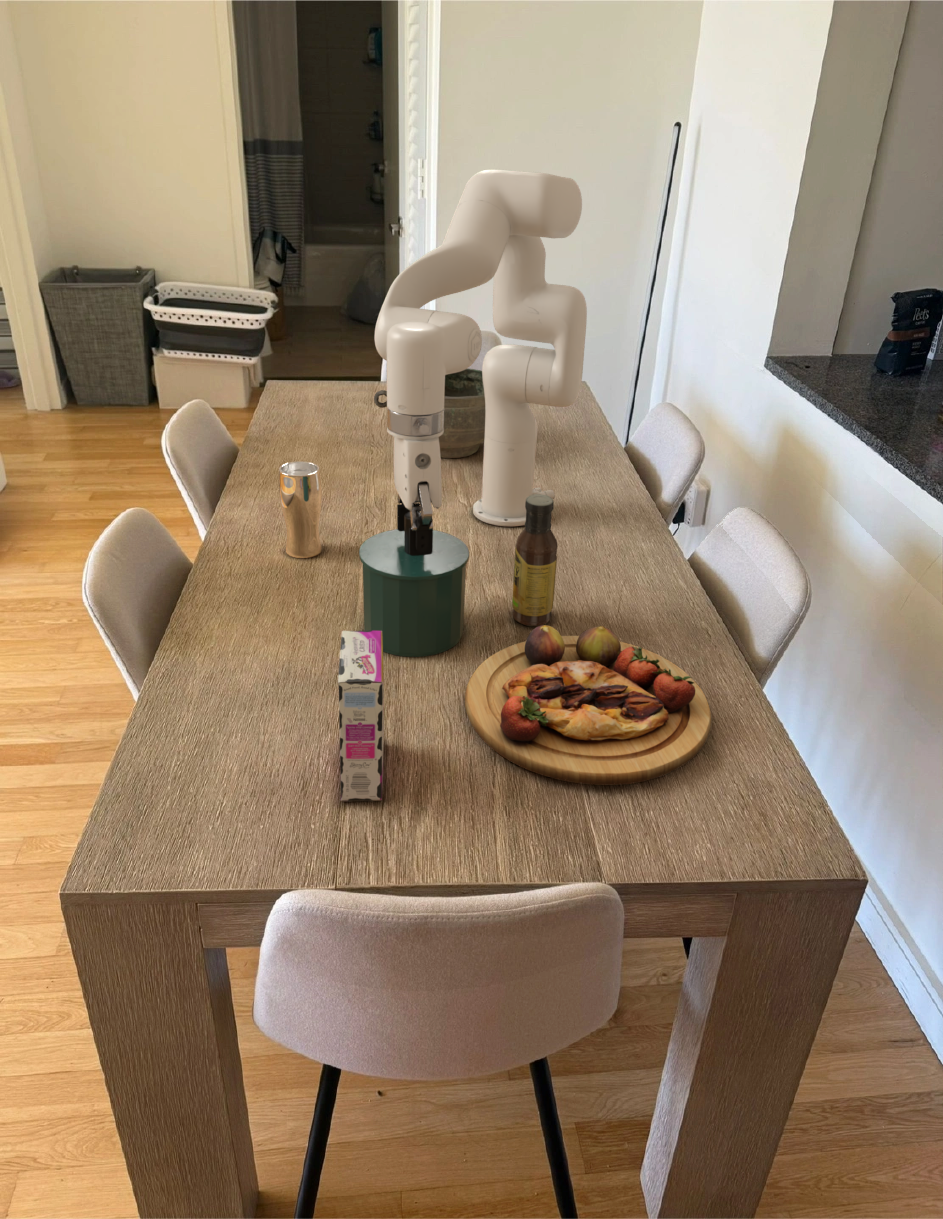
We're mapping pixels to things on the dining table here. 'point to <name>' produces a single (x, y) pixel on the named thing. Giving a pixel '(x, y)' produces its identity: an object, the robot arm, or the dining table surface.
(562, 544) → the dining table surface
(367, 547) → the tin lid
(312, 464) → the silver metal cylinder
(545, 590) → the sauce bottle
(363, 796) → the candy bar box
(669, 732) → the wooden plate
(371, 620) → the tin
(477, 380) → the bowl
